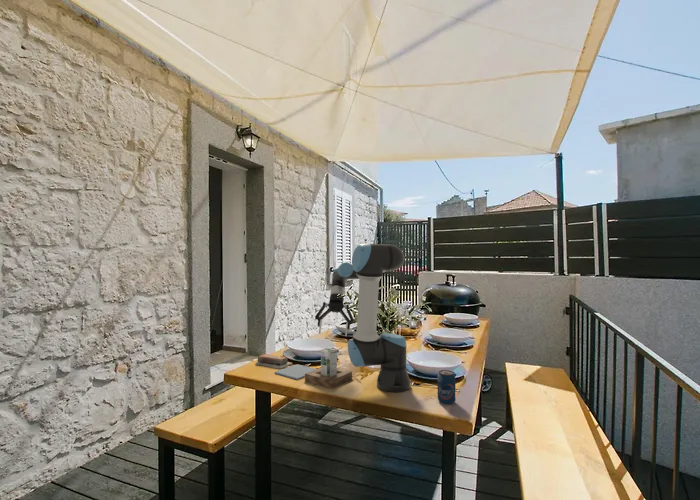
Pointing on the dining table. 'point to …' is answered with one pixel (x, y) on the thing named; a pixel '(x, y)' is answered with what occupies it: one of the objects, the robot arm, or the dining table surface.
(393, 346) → the robot arm
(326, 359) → the syrup box
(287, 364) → the packaged product
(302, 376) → the slate pad
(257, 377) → the dining table surface
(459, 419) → the dining table surface
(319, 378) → the walnut holder
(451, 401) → the soda can
